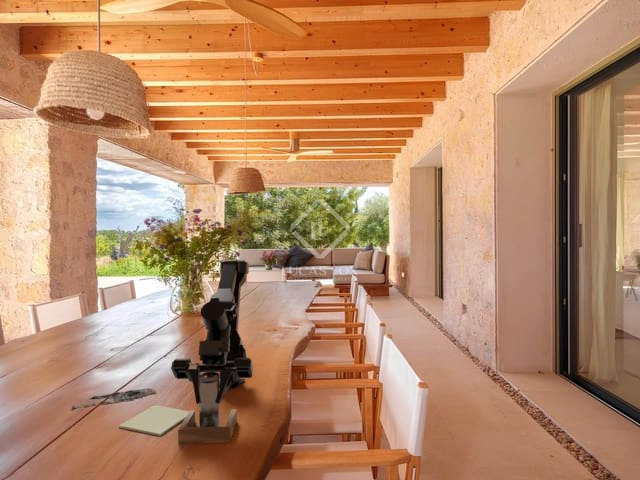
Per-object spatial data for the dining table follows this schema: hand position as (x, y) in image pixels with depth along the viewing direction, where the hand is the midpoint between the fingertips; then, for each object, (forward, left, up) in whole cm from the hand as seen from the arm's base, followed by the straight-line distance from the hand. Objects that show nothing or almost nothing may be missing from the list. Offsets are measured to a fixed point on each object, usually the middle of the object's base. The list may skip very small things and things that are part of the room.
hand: (208, 403), depth 98 cm
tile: (-1, -16, -7) cm, 17 cm away
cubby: (-1, -1, -7) cm, 7 cm away
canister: (-1, -1, -7) cm, 7 cm away
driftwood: (-8, -36, -8) cm, 37 cm away
